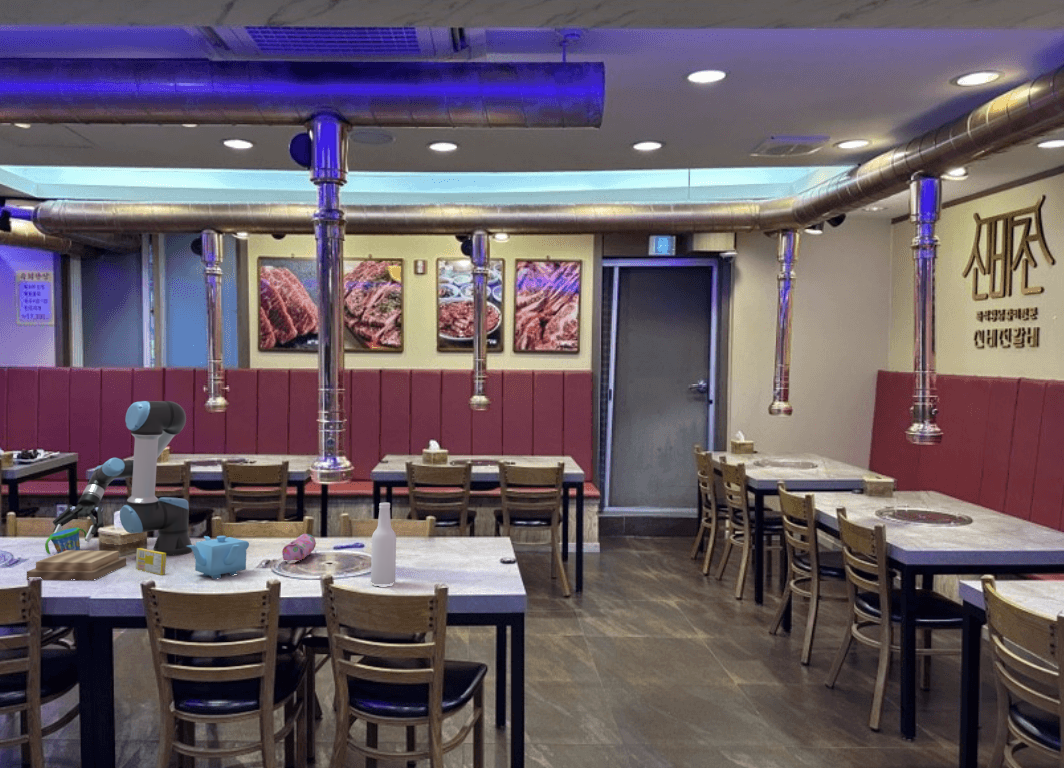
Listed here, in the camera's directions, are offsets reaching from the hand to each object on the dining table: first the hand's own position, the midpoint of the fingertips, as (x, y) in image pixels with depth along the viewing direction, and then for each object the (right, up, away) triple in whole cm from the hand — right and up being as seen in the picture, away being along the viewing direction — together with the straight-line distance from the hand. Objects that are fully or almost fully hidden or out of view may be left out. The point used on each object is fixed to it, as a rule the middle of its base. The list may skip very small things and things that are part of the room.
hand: (70, 540), depth 318 cm
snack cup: (+1, -6, -2) cm, 6 cm away
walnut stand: (+18, -7, -25) cm, 31 cm away
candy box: (+44, -8, -22) cm, 50 cm away
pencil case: (+93, -9, +5) cm, 93 cm away
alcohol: (+135, -10, -34) cm, 140 cm away
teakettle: (+71, -8, -25) cm, 76 cm away
